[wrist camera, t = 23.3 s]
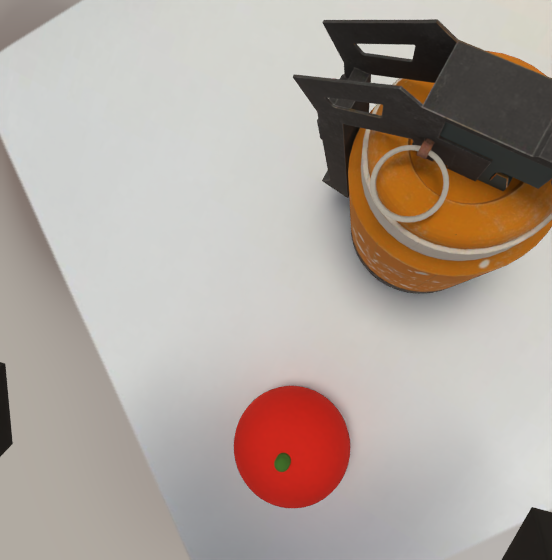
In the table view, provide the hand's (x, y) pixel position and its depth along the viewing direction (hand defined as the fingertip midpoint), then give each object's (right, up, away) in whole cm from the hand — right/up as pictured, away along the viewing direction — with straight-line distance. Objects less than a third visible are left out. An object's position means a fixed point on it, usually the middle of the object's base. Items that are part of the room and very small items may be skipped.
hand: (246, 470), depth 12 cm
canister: (+9, +9, +22) cm, 25 cm away
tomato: (+2, -6, +21) cm, 22 cm away
